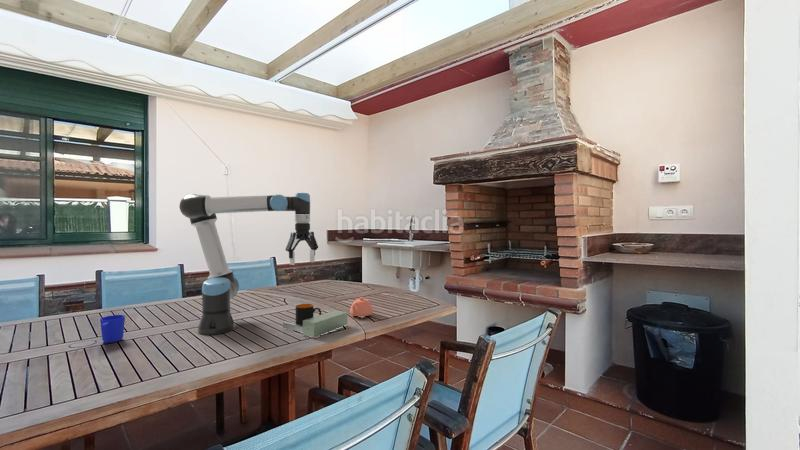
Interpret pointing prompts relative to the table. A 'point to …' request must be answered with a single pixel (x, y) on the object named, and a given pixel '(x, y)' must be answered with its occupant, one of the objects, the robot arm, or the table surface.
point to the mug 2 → (304, 312)
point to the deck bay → (319, 323)
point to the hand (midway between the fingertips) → (302, 263)
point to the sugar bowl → (361, 307)
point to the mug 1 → (112, 328)
